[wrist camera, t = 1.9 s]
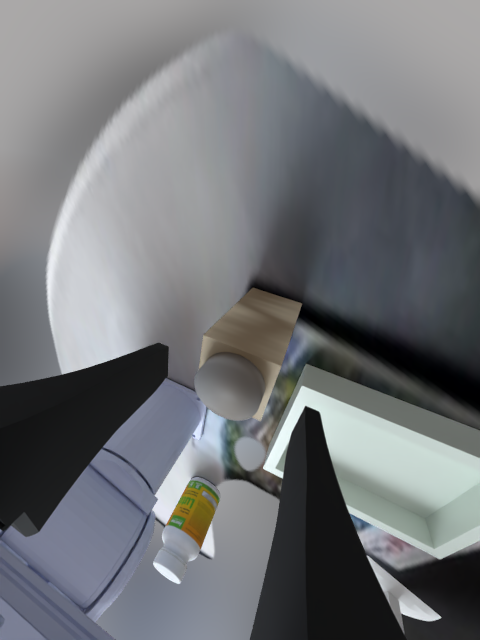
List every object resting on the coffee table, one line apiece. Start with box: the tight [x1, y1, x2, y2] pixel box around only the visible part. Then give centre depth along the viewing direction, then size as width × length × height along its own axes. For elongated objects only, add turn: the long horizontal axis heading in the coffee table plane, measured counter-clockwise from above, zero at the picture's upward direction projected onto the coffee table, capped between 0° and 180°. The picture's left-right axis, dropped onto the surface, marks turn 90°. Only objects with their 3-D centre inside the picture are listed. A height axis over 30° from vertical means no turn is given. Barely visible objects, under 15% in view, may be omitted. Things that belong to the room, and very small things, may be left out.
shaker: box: [194, 288, 302, 421], centre depth 14 cm, size 4×4×9 cm
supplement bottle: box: [153, 477, 220, 584], centre depth 30 cm, size 5×5×10 cm
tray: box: [263, 364, 480, 559], centre depth 19 cm, size 16×12×3 cm
